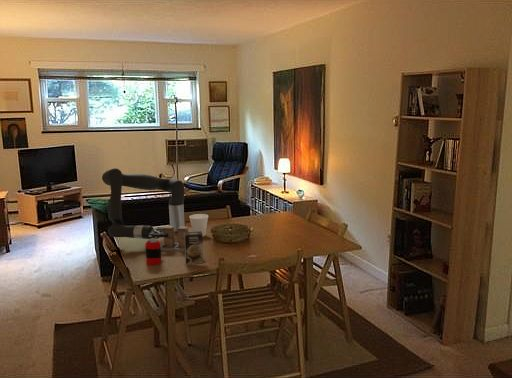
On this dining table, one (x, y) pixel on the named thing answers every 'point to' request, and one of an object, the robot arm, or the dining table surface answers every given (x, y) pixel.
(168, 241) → the block
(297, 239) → the dining table surface
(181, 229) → the seated billet
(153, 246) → the soda can
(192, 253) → the coffee box
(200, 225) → the cup
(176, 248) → the grey slotted tray
